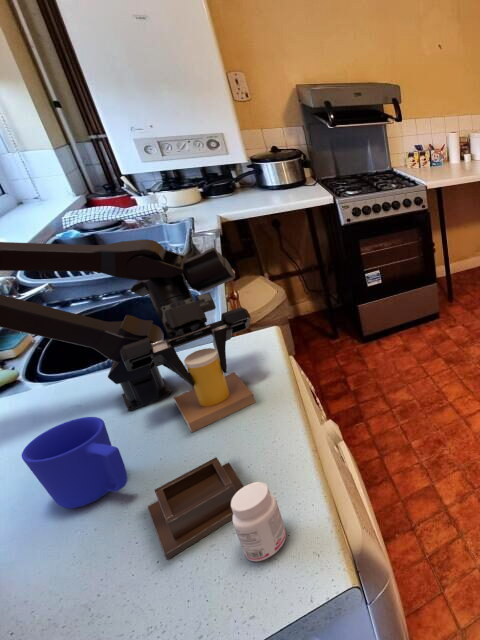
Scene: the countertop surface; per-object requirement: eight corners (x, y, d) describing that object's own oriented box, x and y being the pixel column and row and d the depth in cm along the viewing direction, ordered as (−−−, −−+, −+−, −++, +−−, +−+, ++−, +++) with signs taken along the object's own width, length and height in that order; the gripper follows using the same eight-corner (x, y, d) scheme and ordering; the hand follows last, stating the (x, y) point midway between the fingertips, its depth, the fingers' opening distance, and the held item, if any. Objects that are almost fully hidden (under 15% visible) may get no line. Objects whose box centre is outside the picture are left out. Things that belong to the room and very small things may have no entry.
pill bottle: (276, 519, 59) (262, 472, 55) (293, 540, 56) (279, 492, 53) (238, 546, 55) (220, 498, 52) (253, 571, 52) (236, 521, 49)
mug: (105, 526, 58) (76, 470, 54) (36, 511, 60) (3, 456, 57) (162, 476, 66) (140, 423, 62) (99, 464, 68) (74, 412, 64)
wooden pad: (176, 406, 80) (173, 397, 79) (237, 380, 87) (234, 371, 86) (191, 432, 74) (188, 423, 73) (255, 402, 81) (252, 393, 80)
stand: (149, 511, 60) (140, 490, 59) (230, 466, 67) (223, 446, 65) (167, 560, 54) (156, 538, 52) (254, 505, 61) (247, 484, 59)
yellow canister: (195, 398, 79) (180, 356, 75) (225, 385, 82) (212, 345, 79) (203, 410, 76) (188, 367, 72) (233, 397, 79) (220, 355, 76)
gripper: (100, 303, 67) (138, 392, 64) (234, 267, 80) (271, 340, 77) (110, 330, 75) (144, 411, 72) (231, 293, 88) (264, 360, 85)
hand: (209, 378), depth 76 cm, fingers closed on yellow canister, 5 cm apart
